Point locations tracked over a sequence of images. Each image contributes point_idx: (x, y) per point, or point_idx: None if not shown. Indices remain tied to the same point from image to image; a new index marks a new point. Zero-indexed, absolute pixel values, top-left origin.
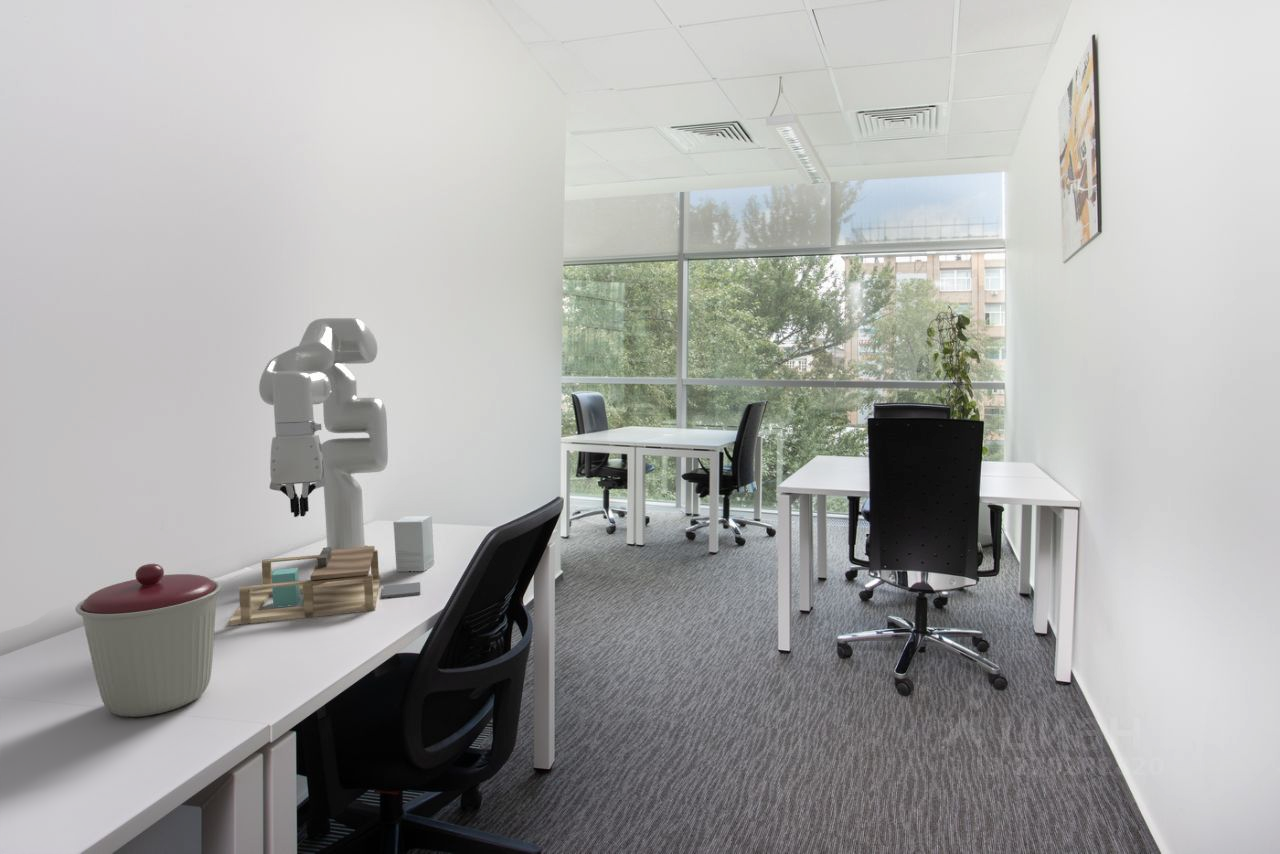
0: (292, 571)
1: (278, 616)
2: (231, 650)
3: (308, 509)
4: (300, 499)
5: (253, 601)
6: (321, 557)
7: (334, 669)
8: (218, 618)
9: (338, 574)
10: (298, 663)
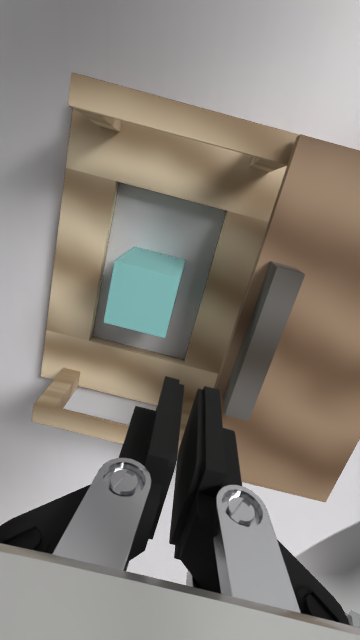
0: (160, 315)
1: (129, 397)
2: (61, 490)
3: (232, 433)
4: (176, 547)
5: (78, 258)
6: (236, 412)
7: None
8: (17, 308)
9: (254, 483)
10: None
